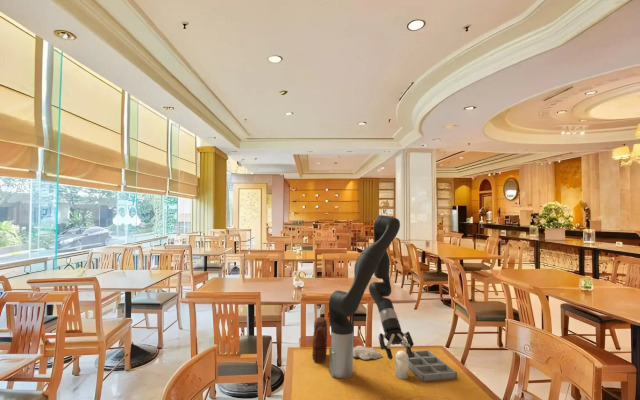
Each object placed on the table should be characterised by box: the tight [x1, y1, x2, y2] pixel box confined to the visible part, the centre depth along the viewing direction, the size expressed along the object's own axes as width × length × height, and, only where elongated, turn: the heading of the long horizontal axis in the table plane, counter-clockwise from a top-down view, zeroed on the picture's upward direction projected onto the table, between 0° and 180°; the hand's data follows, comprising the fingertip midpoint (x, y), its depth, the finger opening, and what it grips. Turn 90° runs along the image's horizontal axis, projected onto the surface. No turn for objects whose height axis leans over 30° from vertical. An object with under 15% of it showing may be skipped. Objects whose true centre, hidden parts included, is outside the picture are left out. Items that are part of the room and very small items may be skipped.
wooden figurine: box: [312, 316, 328, 364], centre depth 153 cm, size 12×6×18 cm, turn 3°
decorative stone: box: [353, 345, 383, 361], centre depth 156 cm, size 11×4×15 cm
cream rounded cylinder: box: [394, 350, 409, 380], centre depth 138 cm, size 5×5×10 cm
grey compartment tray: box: [405, 349, 458, 383], centre depth 145 cm, size 15×22×3 cm, turn 12°
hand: (401, 358), depth 139 cm, fingers open, 8 cm apart
